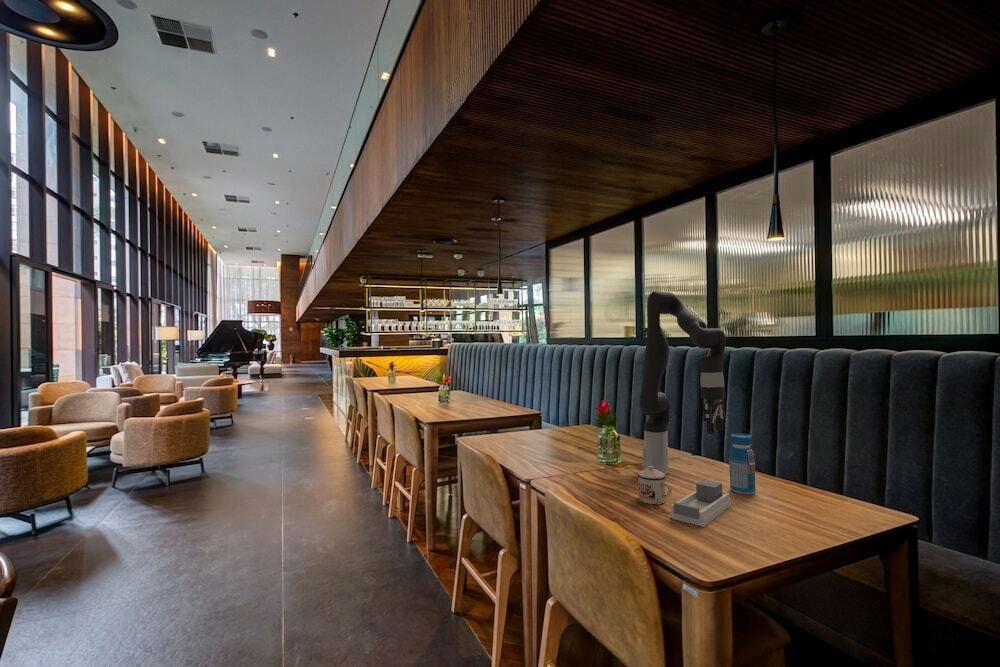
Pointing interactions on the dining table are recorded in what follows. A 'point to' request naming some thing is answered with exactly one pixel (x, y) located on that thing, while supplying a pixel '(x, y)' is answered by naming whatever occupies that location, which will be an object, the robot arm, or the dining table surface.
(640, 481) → the teacup with lid
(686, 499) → the slide rail
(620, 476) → the dining table surface
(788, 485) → the dining table surface
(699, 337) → the robot arm
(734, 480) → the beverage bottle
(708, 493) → the slider block
